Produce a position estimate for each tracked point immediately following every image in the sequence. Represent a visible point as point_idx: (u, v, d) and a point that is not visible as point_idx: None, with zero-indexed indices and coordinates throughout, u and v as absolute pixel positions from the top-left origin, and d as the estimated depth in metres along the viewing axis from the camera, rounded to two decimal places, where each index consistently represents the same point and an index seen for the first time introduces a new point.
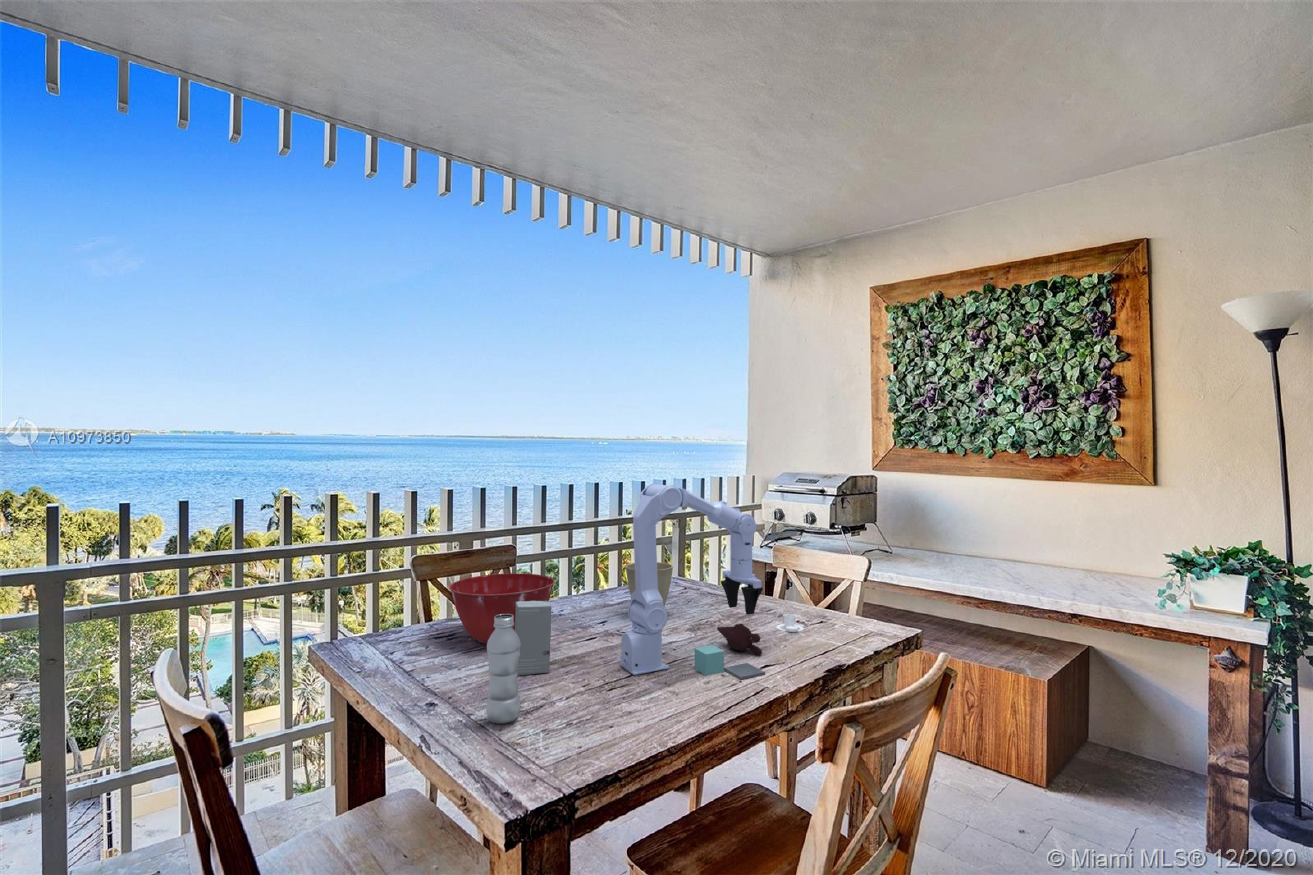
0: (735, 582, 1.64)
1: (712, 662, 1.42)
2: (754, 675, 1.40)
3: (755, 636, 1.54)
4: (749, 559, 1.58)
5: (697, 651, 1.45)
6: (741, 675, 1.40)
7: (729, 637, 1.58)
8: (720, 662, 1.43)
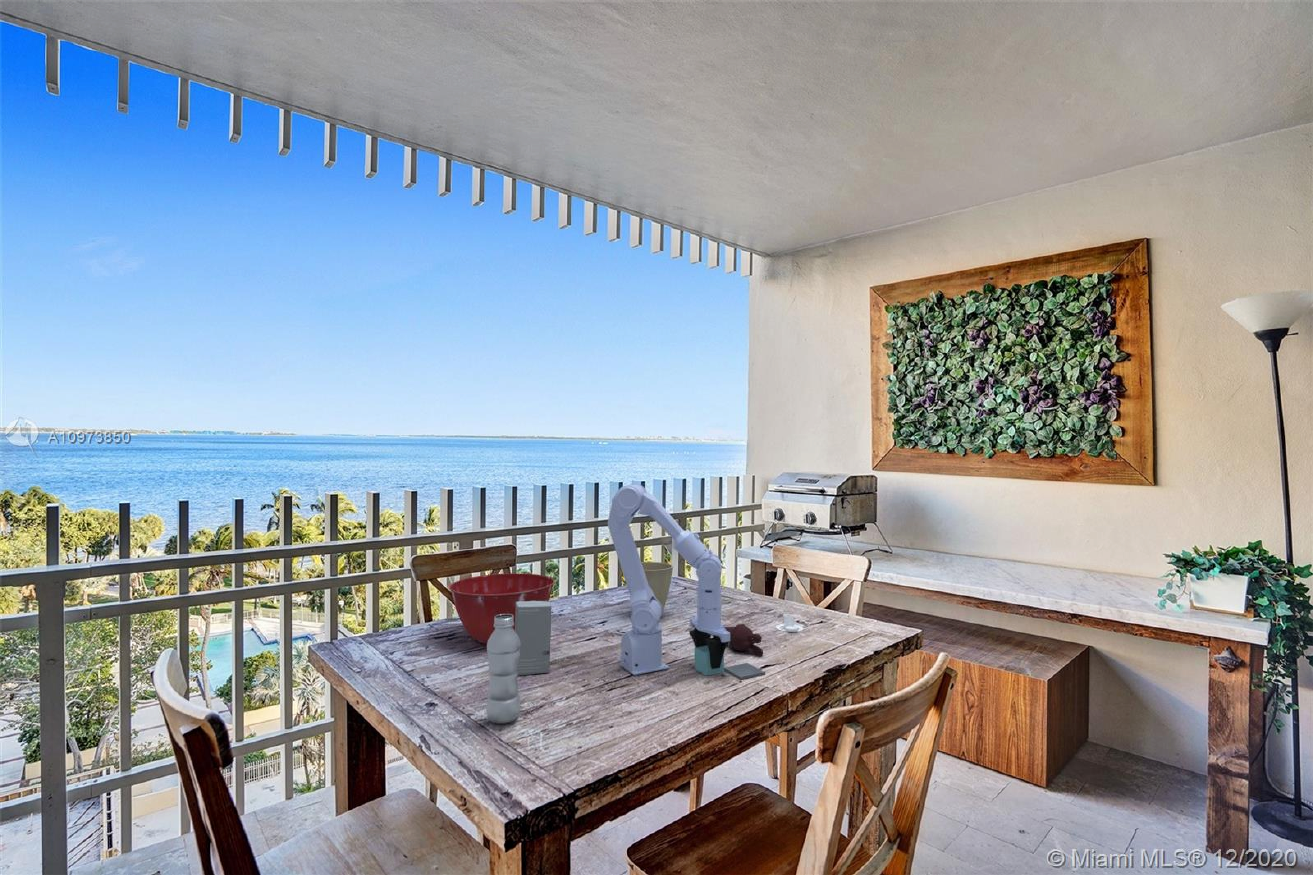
0: (705, 633, 1.48)
1: None
2: (754, 675, 1.40)
3: (756, 636, 1.54)
4: (717, 608, 1.43)
5: (697, 650, 1.45)
6: (741, 675, 1.40)
7: (730, 637, 1.58)
8: None
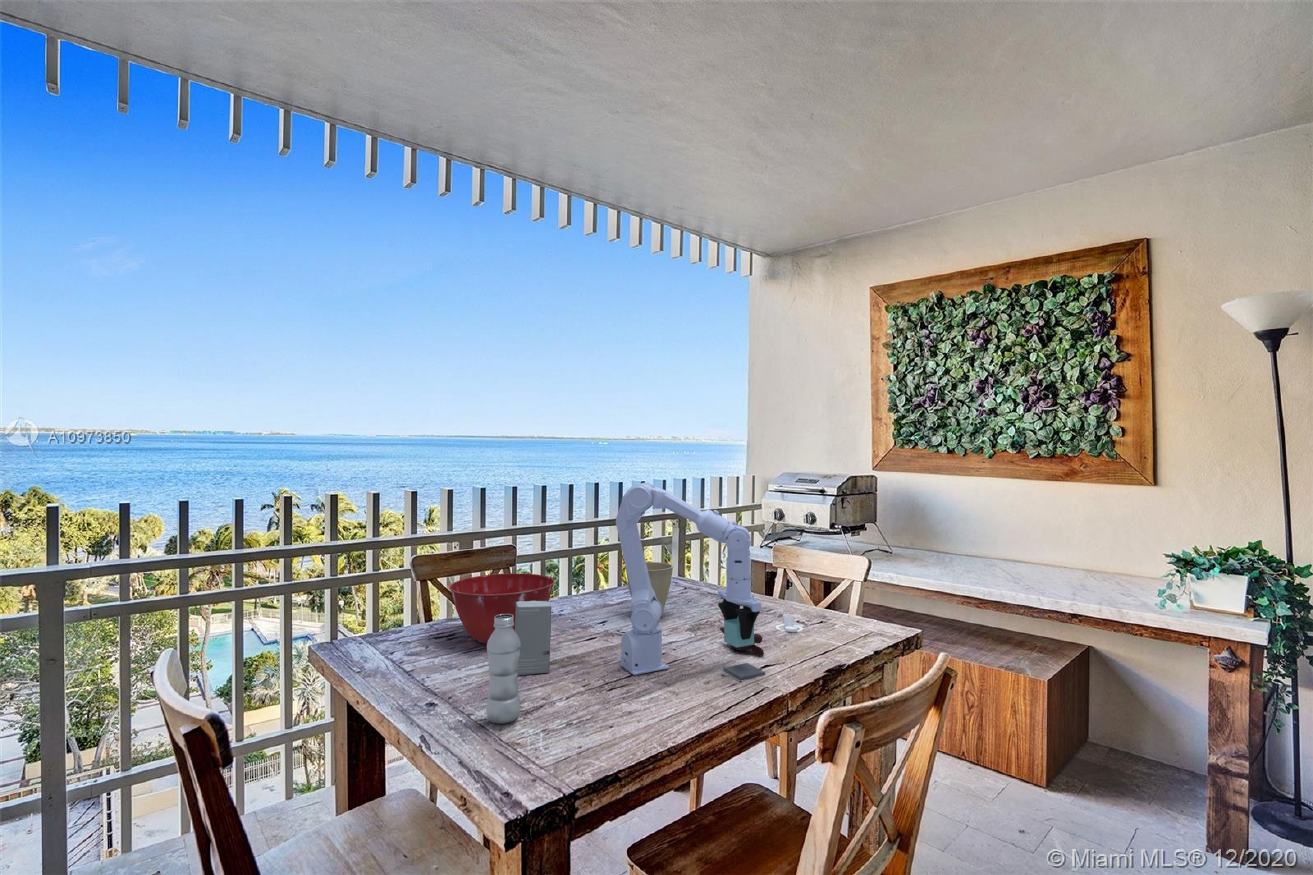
0: (734, 604, 1.47)
1: None
2: (754, 675, 1.40)
3: (757, 636, 1.54)
4: (747, 578, 1.42)
5: (727, 623, 1.44)
6: (741, 675, 1.40)
7: None
8: None
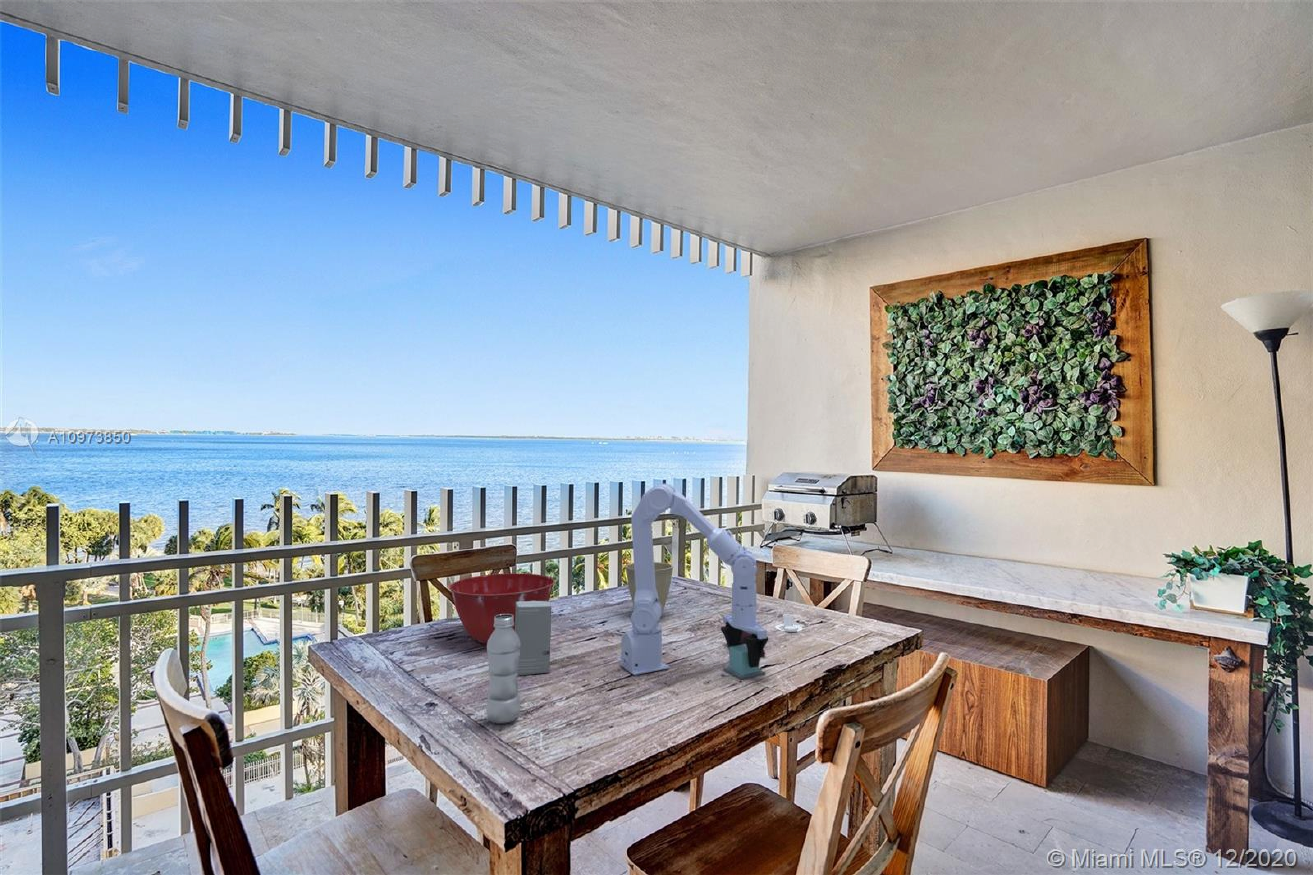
0: (737, 629, 1.47)
1: (748, 661, 1.41)
2: (754, 675, 1.40)
3: None
4: (753, 605, 1.41)
5: (732, 650, 1.43)
6: (741, 675, 1.40)
7: None
8: None
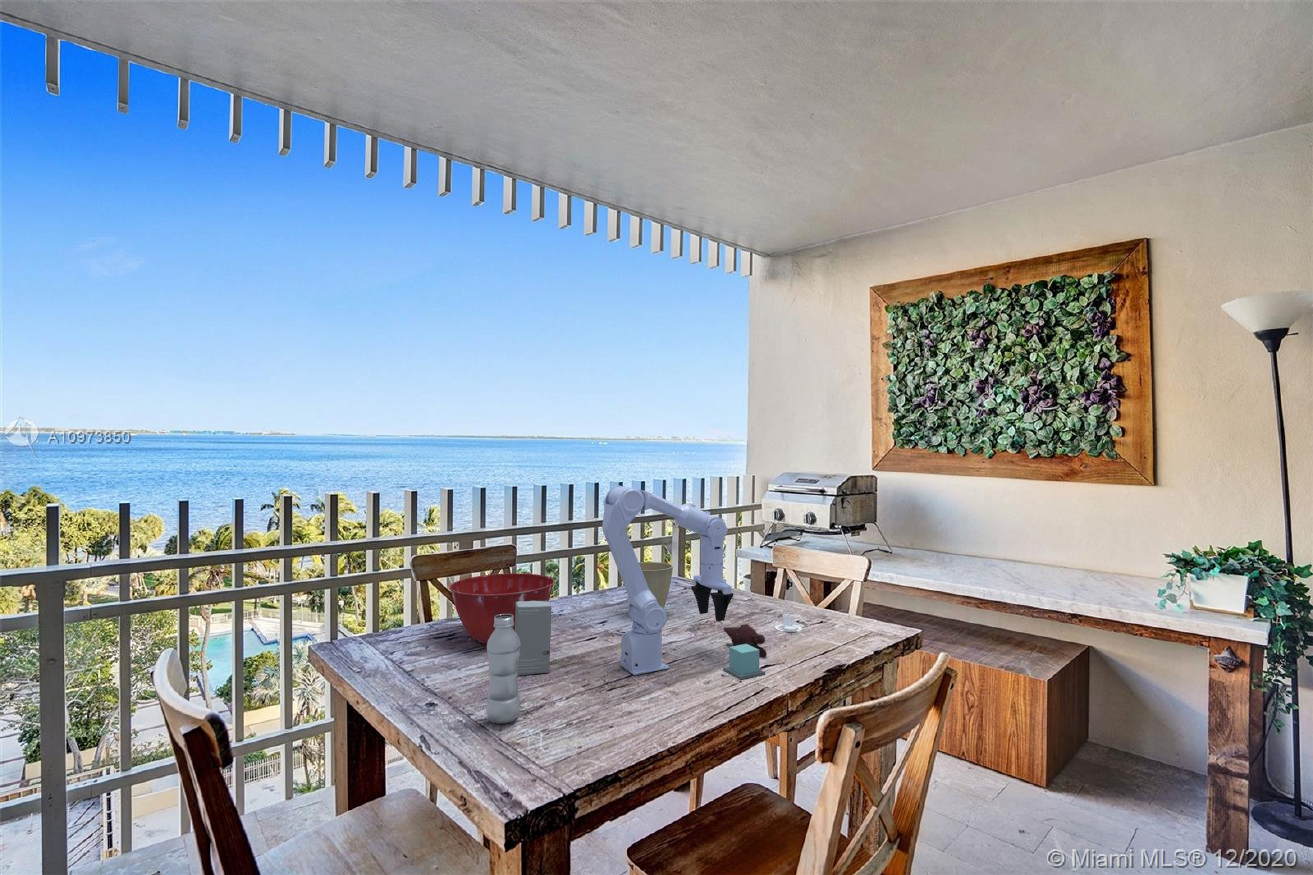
0: (706, 587, 1.58)
1: (748, 661, 1.41)
2: (754, 675, 1.40)
3: (759, 637, 1.53)
4: (719, 564, 1.53)
5: (732, 650, 1.43)
6: (741, 675, 1.40)
7: (734, 638, 1.57)
8: (756, 661, 1.42)
